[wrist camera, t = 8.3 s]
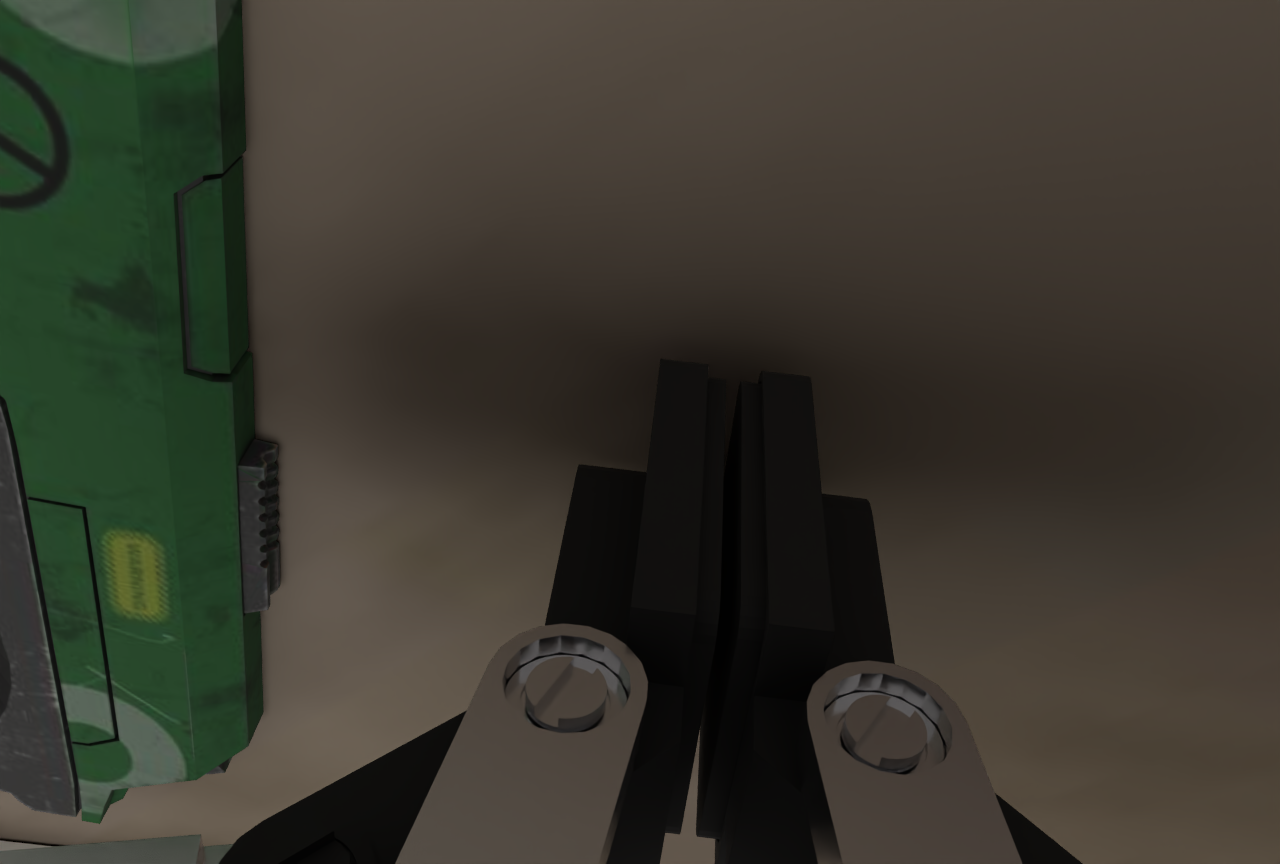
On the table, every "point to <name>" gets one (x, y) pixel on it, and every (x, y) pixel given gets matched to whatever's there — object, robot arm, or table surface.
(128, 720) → the gun
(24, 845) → the white angled bar
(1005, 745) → the table surface
